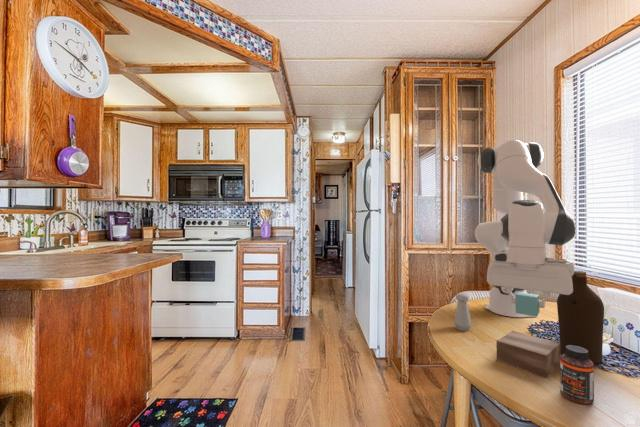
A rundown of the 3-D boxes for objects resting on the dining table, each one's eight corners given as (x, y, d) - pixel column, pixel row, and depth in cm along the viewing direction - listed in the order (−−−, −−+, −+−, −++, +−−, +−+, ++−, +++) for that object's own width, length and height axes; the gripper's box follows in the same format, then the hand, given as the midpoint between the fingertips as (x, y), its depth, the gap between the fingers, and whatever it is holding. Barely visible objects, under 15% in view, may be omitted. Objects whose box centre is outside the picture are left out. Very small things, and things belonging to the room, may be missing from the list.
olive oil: (612, 368, 83) (611, 276, 83) (564, 361, 87) (562, 273, 87) (595, 352, 92) (594, 269, 93) (553, 346, 97) (551, 267, 97)
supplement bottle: (558, 397, 70) (557, 348, 70) (562, 387, 74) (561, 340, 74) (593, 409, 66) (592, 356, 66) (595, 397, 70) (594, 348, 70)
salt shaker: (473, 332, 108) (472, 296, 109) (456, 331, 110) (455, 295, 110) (468, 326, 114) (468, 292, 114) (452, 325, 115) (452, 291, 115)
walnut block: (513, 349, 95) (513, 330, 95) (560, 364, 86) (560, 343, 86) (496, 361, 88) (496, 340, 88) (546, 378, 78) (546, 355, 78)
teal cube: (518, 308, 90) (518, 292, 90) (539, 312, 87) (539, 294, 87) (515, 312, 86) (515, 295, 86) (537, 316, 83) (536, 298, 83)
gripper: (574, 258, 82) (575, 309, 82) (490, 253, 96) (490, 297, 96) (573, 261, 78) (574, 315, 77) (484, 254, 91) (485, 301, 91)
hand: (527, 305), depth 87 cm, fingers closed on teal cube, 5 cm apart
